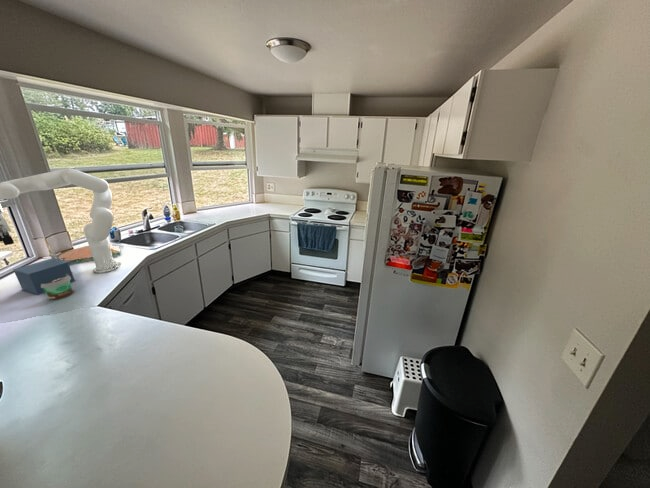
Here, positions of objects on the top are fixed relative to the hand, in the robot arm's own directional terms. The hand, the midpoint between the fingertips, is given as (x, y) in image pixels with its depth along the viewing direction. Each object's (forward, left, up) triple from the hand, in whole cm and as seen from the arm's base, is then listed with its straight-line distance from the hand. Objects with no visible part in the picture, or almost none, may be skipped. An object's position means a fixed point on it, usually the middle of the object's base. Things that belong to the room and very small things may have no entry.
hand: (6, 242), depth 130 cm
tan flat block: (-6, -49, -29) cm, 57 cm away
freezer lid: (-7, -5, -17) cm, 19 cm away
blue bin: (-7, -4, -29) cm, 30 cm away
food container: (-23, +11, -29) cm, 38 cm away
